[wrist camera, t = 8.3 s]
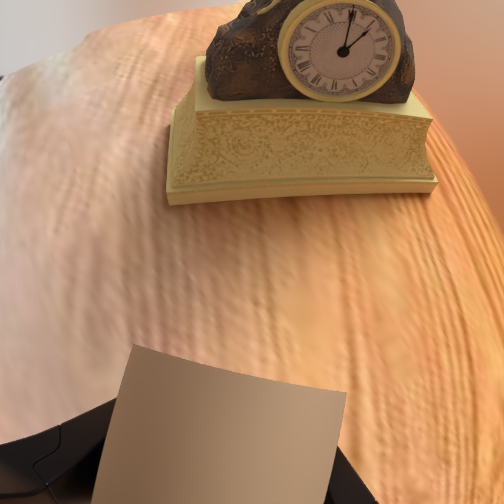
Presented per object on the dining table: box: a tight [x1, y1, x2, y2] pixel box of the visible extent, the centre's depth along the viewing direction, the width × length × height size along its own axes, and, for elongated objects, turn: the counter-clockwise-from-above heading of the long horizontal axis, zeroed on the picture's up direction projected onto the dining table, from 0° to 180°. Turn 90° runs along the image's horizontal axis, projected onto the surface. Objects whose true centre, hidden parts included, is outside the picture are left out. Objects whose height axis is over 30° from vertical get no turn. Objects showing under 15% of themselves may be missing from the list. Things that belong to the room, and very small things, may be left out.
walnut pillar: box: [91, 344, 347, 504], centre depth 9 cm, size 4×4×10 cm
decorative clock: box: [166, 0, 438, 206], centre depth 21 cm, size 28×13×30 cm, turn 97°
